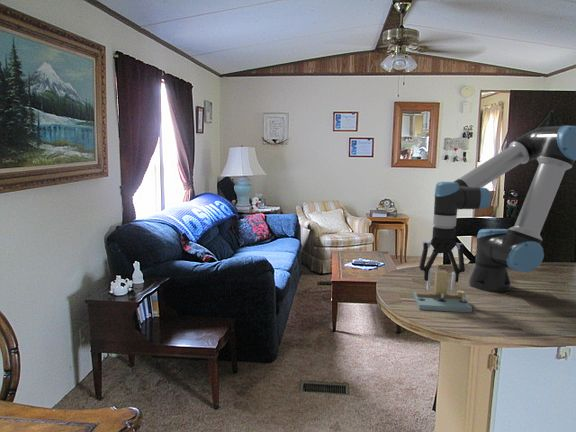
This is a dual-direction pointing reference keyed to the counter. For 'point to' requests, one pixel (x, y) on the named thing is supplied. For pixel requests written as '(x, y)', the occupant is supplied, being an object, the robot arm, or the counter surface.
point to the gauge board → (442, 302)
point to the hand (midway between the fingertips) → (440, 290)
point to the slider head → (440, 283)
